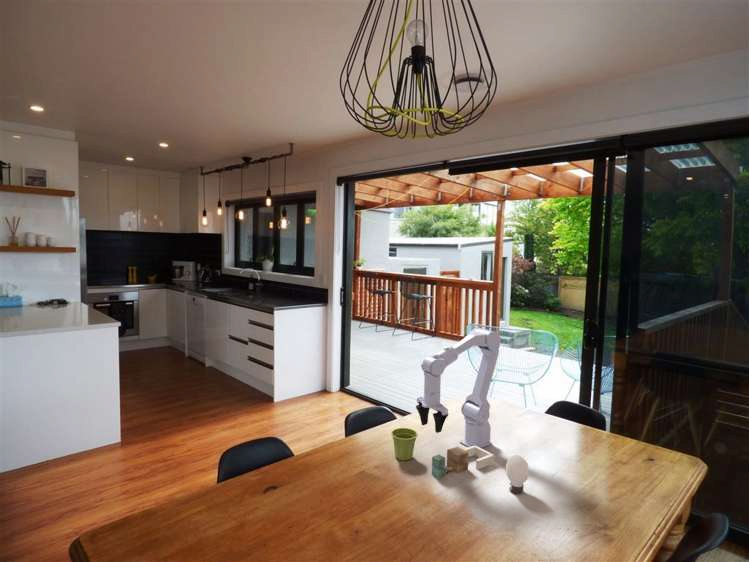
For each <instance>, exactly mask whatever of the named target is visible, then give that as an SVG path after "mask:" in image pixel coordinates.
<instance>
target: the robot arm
mask: <svg viewBox="0 0 749 562" xmlns="http://www.w3.org/2000/svg"><path fill="white" fill-rule="evenodd" d="M501 341H502V338H501V336H500V334H499V333H498V332H497V331H495V330H489V329H486V328H483V327H478V326H477V327H475V328H473V329H472V330H470V331H469V334H468V335H466V336H465V337H464V338H462V339H461V340H459V341H458V343H456V344H454V345H453V346H450V345H448V346H447V345H446V346H444V347H443V349H441V350H440V351H438V352H437V353H434V354H433V355H432V356H427V357H425V358H424V359H423V360H422V363H421V365H420V368H421V370H422V371H423V377H424V384H423V385H424V386H423V387H424V388H423V397H422V396H419V397H417V398H416V404H417V405H415V408H416V410H417V412H418V414H419V419H420V422H421V425H422V426H426V425H428V423H429V413H430V409H432V410H433V411H436V412H435V413H432V416H433V419H434V429H435V434H436V433H437V434H438V433H442V430H443V427H444V424H445V423H446V420H447V418H448V417H449V409H448V408H447V407H446V406H444V405H443V404H442V403H441V379H442V378H441V376H442V375H443V374H444V371H445V369H446V368H447V367H448V366H449V365H452V363H454V362H455V361H457V360H458V359H459V355H461V354H462V353H465V352H466V351H467V350H469V349H471V348H473V347H474V346H475V347H476V346H477V347H478V348H479V349H480V351H481V353H482V357H481V360H480V365H479V367H478V371H477V375H476V378H475V382H474V386H473V389H472V393H470V394H469V395H467V396H466V398H465V400H464V402H463V404H462V405H461V414H462V415H463V418H464V420H465V421H464V422H465V423H464V439H462V440H459V443H461V444H462V445H464V446H466V447H467V448H468V447H471V446H474V445H475V446H477V447H479V448H481V449H483V448H485V447H488V446H490V445H492V444H493V443H492V442H491V431H492V429H491V424H490V422H489V418H490V415H491V414H490V408H491V404H490V403H489V401H488V399H487V398H488V394H489V390H490V387H491V383H492V380H493V376H494V372H495V368H496V365H497V361H498V357H499V353H500V349H499V348H500V345H501Z"/></svg>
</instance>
